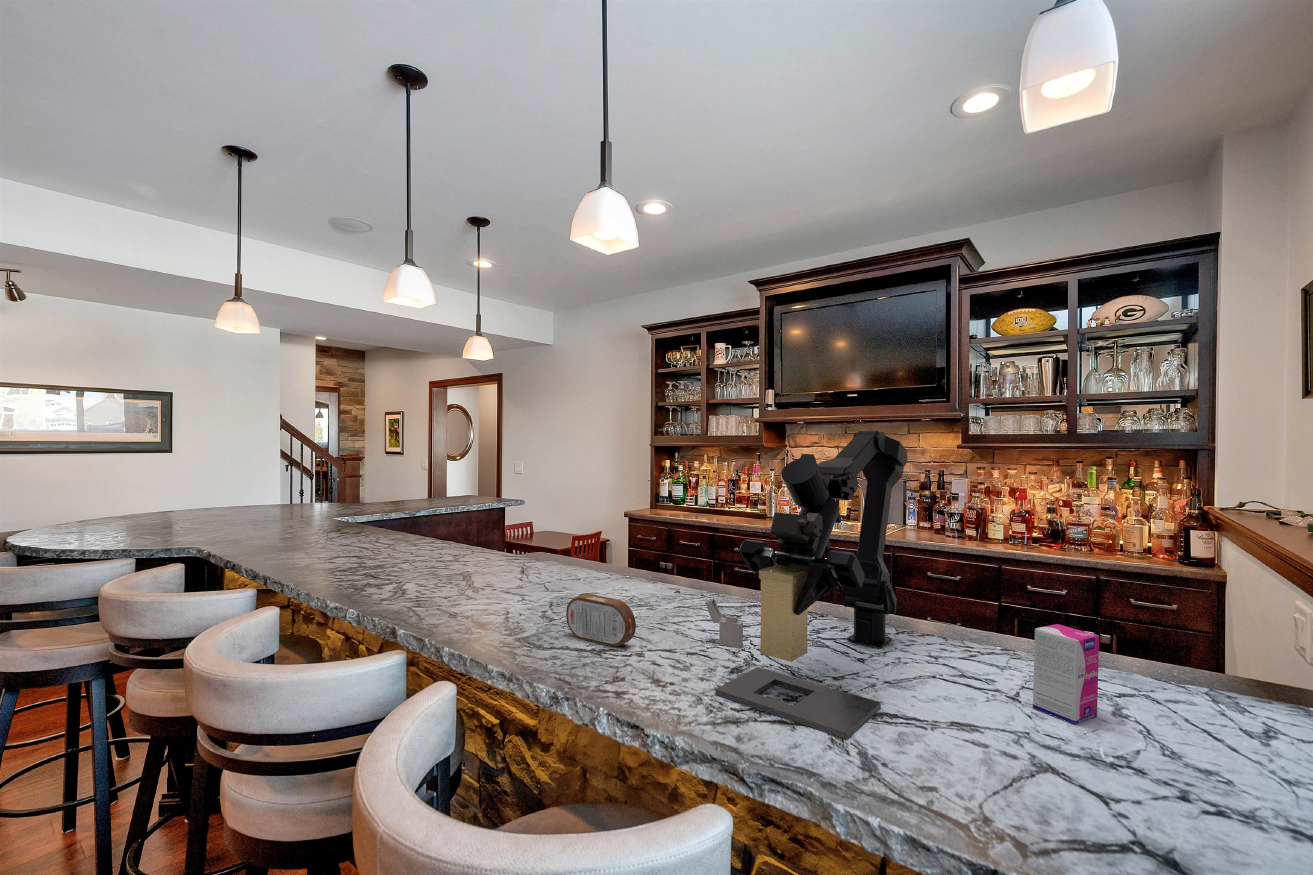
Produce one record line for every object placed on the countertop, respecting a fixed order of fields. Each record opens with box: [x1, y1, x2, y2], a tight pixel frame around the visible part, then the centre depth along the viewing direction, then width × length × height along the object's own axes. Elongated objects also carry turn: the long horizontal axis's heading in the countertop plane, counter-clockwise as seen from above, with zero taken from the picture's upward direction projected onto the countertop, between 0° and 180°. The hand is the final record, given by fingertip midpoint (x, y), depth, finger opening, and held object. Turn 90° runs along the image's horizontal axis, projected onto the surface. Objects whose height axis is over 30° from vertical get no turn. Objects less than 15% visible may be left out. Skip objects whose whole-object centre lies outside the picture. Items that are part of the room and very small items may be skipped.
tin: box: [565, 592, 637, 648], centre depth 110 cm, size 15×3×8 cm, turn 58°
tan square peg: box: [758, 565, 809, 663], centre depth 86 cm, size 5×5×12 cm
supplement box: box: [1031, 623, 1100, 725], centre depth 82 cm, size 6×6×12 cm
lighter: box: [704, 598, 744, 649], centre depth 109 cm, size 7×2×8 cm, turn 61°
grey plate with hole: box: [715, 666, 882, 740], centre depth 84 cm, size 12×20×1 cm, turn 50°
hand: (779, 609), depth 85 cm, fingers closed on tan square peg, 5 cm apart
